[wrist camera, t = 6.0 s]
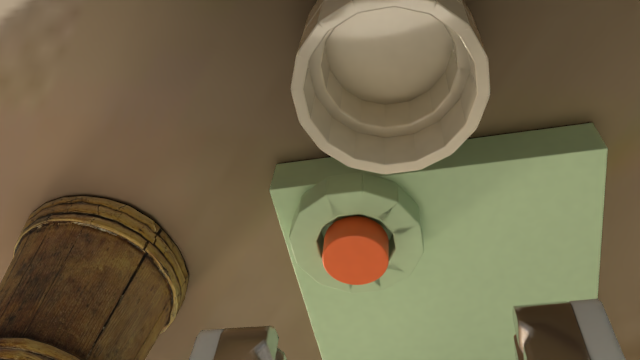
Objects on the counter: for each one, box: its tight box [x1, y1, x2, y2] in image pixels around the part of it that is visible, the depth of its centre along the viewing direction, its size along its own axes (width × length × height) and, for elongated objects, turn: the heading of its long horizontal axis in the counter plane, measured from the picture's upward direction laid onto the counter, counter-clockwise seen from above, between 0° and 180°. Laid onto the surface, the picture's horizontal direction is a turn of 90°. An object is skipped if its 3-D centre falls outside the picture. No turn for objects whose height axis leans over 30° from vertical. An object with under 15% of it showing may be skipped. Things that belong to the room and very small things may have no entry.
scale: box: [269, 123, 608, 360], centre depth 29 cm, size 16×14×4 cm
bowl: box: [290, 0, 490, 174], centre depth 22 cm, size 7×7×4 cm
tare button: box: [322, 216, 389, 285], centre depth 25 cm, size 3×3×1 cm
